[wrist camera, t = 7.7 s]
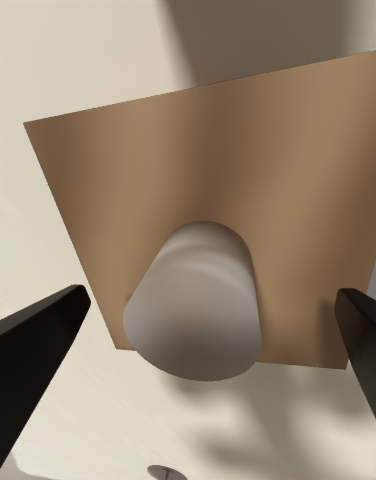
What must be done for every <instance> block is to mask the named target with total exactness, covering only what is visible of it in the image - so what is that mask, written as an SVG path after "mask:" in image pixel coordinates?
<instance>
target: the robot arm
mask: <svg viewBox="0 0 376 480" xmlns="http://www.w3.org/2000/svg"><path fill="white" fill-rule="evenodd" d="M90 305H91V300H90V298H89V295H88V293H87V291H86V288H85V287H84V286H83V285H71V286H69V287H67V288H65V289H63V290H61V291H59V292H57V293H55V294H52V295H50V296H48V297H46V298H44V299H42V300H40V301H38V302H36V303H34V304H32V305H30V306H28V307H26V308H24V309H22V310H20V311H18V312H16V313H14V314H12V315H9V316H7V317H5V318H3V319H1V320H0V468H1V466H2V465H3V463H4V461H5V460H6V458H7V456H8V454H9V453H10V451H11V449H12V447H13V446H14V444H15V442H16V441H17V439H18V437H19V435H20V434H21V432H22V430H23V428H24V427H25V425H26V423H27V422H28V420H29V418H30V416H31V415H32V413H33V411H34V410H35V408H36V406H37V404H38V403H39V401H40V399H41V397H42V396H43V394H44V392H45V391H46V389H47V387H48V385H49V384H50V382H51V380H52V378H53V377H54V375H55V373H56V372H57V370H58V368H59V366H60V365H61V363H62V361H63V359H64V358H65V356H66V354H67V353H68V351H69V349H70V347H71V345H72V344H73V342H74V340H75V338H76V336H77V334H78V331H79V329H80V327H81V325H82V323H83V321H84V319H85V317H86V314H87V312H88V310H89V308H90ZM334 315H335V318H336V321H337V324H338V327H339V330H340V333H341V336H342V339H343V342H344V345H345V348H346V351H347V354H348V357H349V360H350V363H351V365H352V368H353V370H354V372H355V375H356V377H357V379H358V381H359V383H360V386H361V388H362V390H363V392H364V394H365V396H366V399H367V401H368V403H369V405H370V407H371V409H372V412H373V414H374V416H375V418H376V300H375V299H373V298H371V297H370V296H368V295H366V294H364V293H363V292H361V291H359V290H358V289H355V288H340V289H338V291H337V296H336V301H335V306H334Z"/></svg>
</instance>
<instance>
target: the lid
mask: <svg viewBox="0 0 376 480" xmlns="http://www.w3.org/2000/svg"><path fill="white" fill-rule="evenodd" d="M23 125H24V127H25V129H26V132H27V134H28V137H29V139H30V142H31V144H32V146H33V149H34V151H35V154H36V156H37V158H38V161H39V163H40V166H41V168H42V171H43V173H44V175H45V178H46V180H47V183H48V185H49V188H50V190H51V192H52V195H53V197H54V200H55V202H56V205H57V207H58V209H59V212H60V214H61V217H62V219H63V222H64V224H65V226H66V229H67V231H68V234H69V236H70V238H71V241H72V243H73V246H74V248H75V251H76V253H77V255H78V258H79V260H80V263H81V265H82V268H83V270H84V272H85V275H86V277H87V280H88V282H89V285H90V287H91V289H92V292H93V294H94V297H95V299H96V301H97V304H98V306H99V309H100V311H101V314H102V316H103V318H104V321H105V323H106V326H107V328H108V331H109V333H110V335H111V338H112V340H113V343H114V345H115V348H116V349H121V350H133V351H137V352H138V353H139V354H140V355H141V356H142V357H143V358H144V359H145V360H147V361H148V362H149V363H151V364H152V365H154V366H155V367H157V368H159V369H161V370H163V371H165V372H167V373H170V374H172V375H175V376H178V377H181V378H185V379H190V380H196V381H218V380H224V379H229V378H232V377H235V376H237V375H239V374H241V373H243V372H245V371H246V370H247V369H249V368H250V367H251V366H252V365H253V364H254V363H255V362H266V363H277V364H288V365H299V366H310V367H321V368H332V369H343V370H346V367H347V363H348V359H349V357H348V354H347V351H346V348H345V345H344V342H343V339H342V336H341V333H340V330H339V327H338V324H337V321H336V318H335V315H334V306H335V301H336V296H337V291H338V289H340V288H355V289H358V290H359V291H361V292H363V293H364V294H367V291H368V287H369V283H370V280H371V276H372V272H373V269H374V265H375V261H376V51H371V52H366V53H361V54H356V55H351V56H346V57H341V58H337V59H332V60H327V61H322V62H317V63H312V64H307V65H302V66H298V67H293V68H288V69H283V70H278V71H273V72H268V73H263V74H259V75H254V76H249V77H244V78H239V79H234V80H229V81H224V82H220V83H215V84H210V85H205V86H200V87H195V88H190V89H185V90H181V91H176V92H171V93H166V94H161V95H156V96H151V97H146V98H141V99H137V100H132V101H127V102H122V103H117V104H112V105H107V106H102V107H98V108H93V109H88V110H83V111H78V112H73V113H68V114H63V115H59V116H54V117H49V118H44V119H39V120H34V121H29V122H24V123H23Z"/></svg>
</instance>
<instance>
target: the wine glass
mask: <svg viewBox="0 0 376 480" xmlns="http://www.w3.org/2000/svg"><path fill="white" fill-rule="evenodd" d="M147 471H148V473H149V474H150V475H151V476H152V477H153V478H155V479H157V480H187V479H186V477H185V476H184V475H182V474H181V473H179V472H177V471H175V470H173V469H170V468H168V467H164V466H157V465H153V466H149V467H148V468H147Z"/></svg>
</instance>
